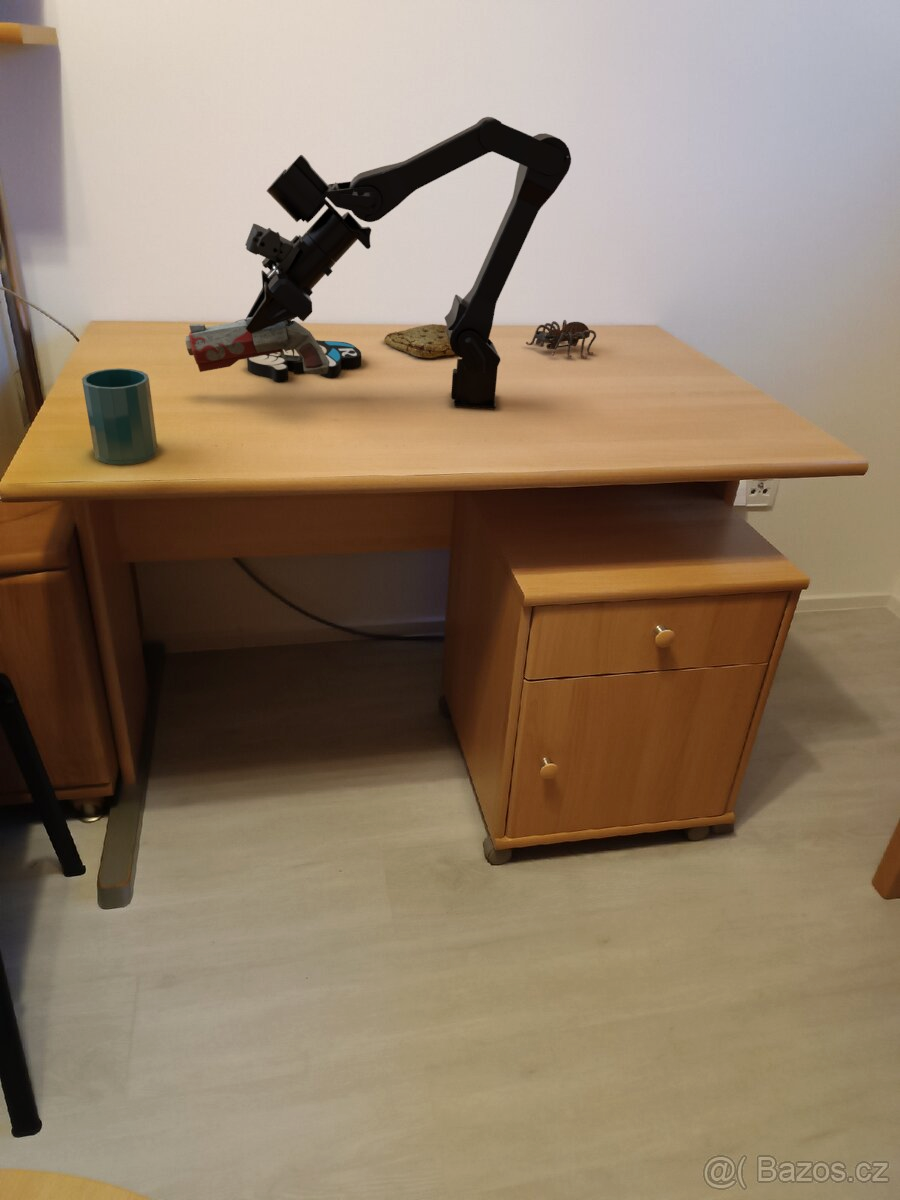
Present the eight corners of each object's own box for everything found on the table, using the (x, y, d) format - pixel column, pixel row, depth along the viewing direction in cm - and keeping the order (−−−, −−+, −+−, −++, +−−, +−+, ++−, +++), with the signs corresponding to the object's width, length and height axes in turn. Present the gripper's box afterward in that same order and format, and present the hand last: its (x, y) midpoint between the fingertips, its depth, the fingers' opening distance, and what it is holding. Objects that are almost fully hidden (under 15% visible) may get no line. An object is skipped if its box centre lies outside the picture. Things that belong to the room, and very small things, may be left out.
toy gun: (204, 386, 135) (184, 321, 130) (331, 366, 135) (317, 300, 129) (199, 396, 131) (179, 330, 126) (330, 375, 131) (315, 308, 126)
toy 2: (517, 345, 169) (519, 318, 166) (564, 338, 174) (567, 313, 172) (557, 363, 160) (561, 335, 157) (606, 355, 166) (610, 329, 163)
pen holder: (165, 443, 118) (156, 370, 113) (147, 466, 112) (137, 390, 106) (106, 440, 118) (95, 366, 113) (85, 463, 112) (72, 386, 106)
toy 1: (163, 367, 145) (337, 389, 141) (161, 355, 144) (337, 377, 140) (232, 325, 168) (383, 343, 164) (231, 315, 167) (383, 332, 163)
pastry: (480, 339, 171) (482, 323, 169) (469, 365, 156) (470, 348, 154) (393, 330, 172) (393, 314, 171) (374, 355, 158) (374, 338, 156)
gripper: (273, 193, 129) (203, 273, 132) (283, 215, 113) (203, 303, 117) (328, 250, 134) (260, 325, 138) (345, 278, 119) (267, 361, 123)
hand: (247, 327), depth 129 cm, fingers closed on toy gun, 3 cm apart
